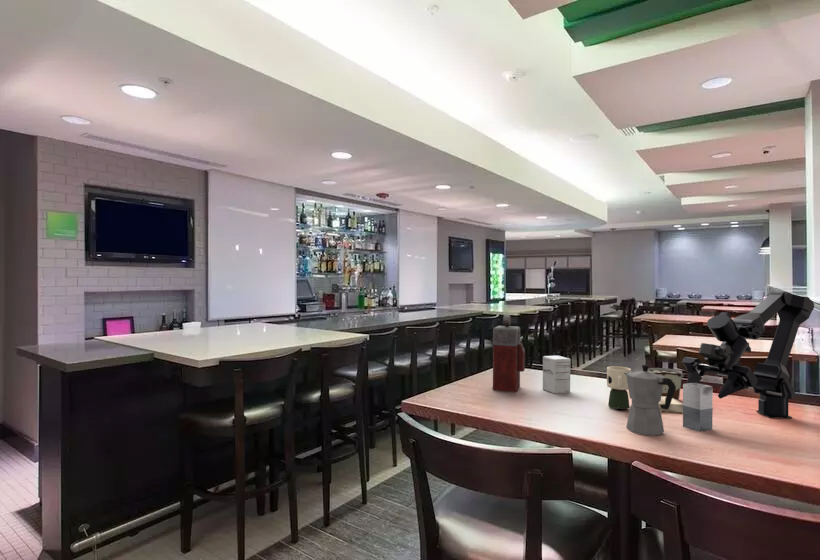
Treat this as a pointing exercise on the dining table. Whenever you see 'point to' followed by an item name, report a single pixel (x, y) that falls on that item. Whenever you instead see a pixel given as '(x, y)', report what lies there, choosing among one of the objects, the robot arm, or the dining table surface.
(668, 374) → the food container
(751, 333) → the robot arm
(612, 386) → the character mug
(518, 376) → the red thermos flask
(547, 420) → the dining table surface
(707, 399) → the block
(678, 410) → the stand
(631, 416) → the coffeepot
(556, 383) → the supplement box
